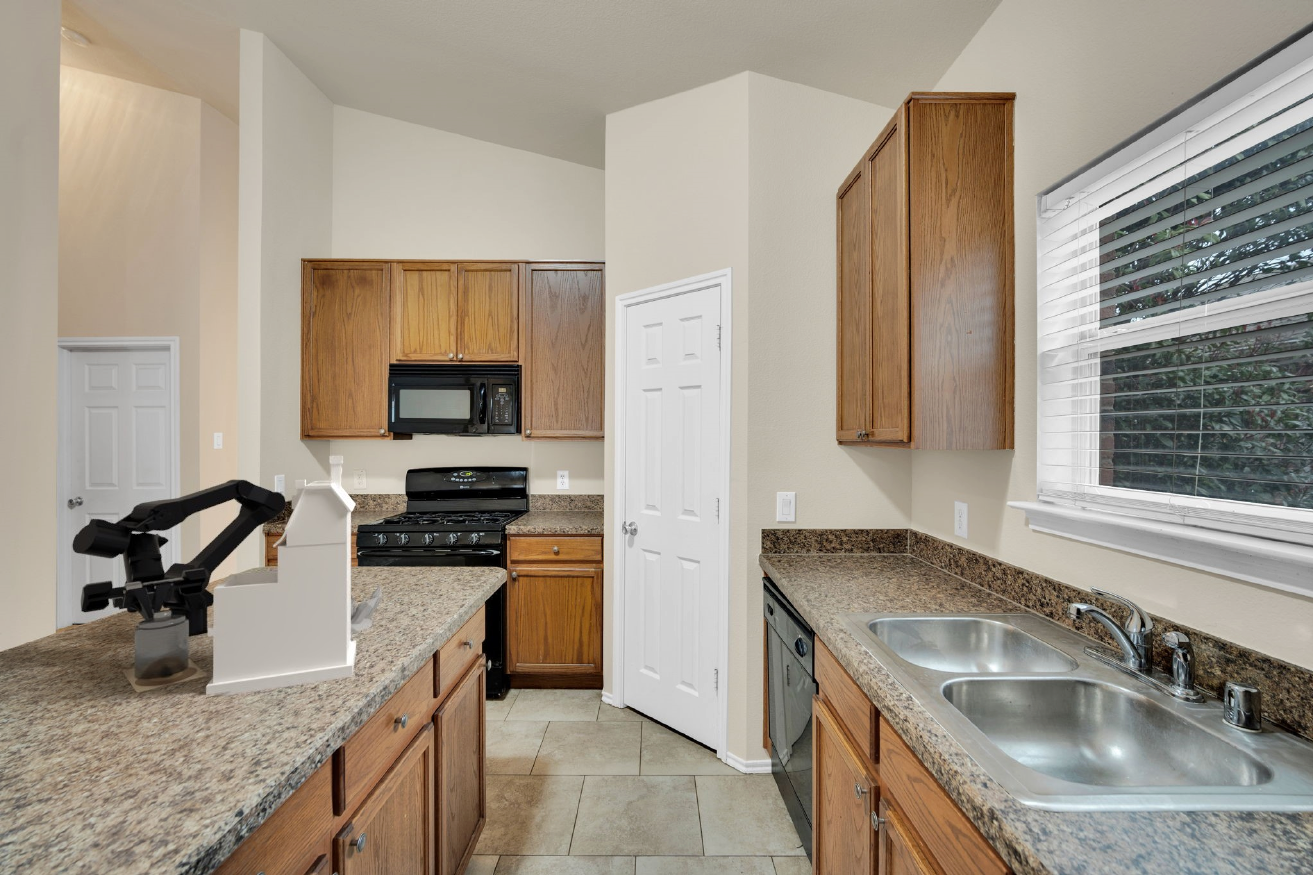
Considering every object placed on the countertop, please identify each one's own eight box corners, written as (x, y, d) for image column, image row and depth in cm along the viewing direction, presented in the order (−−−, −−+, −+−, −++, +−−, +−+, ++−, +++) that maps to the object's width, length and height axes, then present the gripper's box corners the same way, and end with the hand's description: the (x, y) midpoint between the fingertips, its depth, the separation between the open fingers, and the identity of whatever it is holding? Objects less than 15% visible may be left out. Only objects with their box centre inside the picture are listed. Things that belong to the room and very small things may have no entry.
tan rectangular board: (187, 659, 115) (187, 656, 115) (206, 678, 106) (206, 674, 106) (122, 674, 108) (122, 670, 108) (137, 696, 99) (137, 692, 99)
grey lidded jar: (183, 660, 113) (183, 603, 113) (193, 669, 108) (193, 610, 108) (130, 671, 107) (131, 612, 108) (138, 682, 103) (139, 620, 103)
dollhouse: (356, 649, 121) (356, 454, 121) (352, 676, 107) (352, 456, 107) (228, 666, 112) (229, 455, 112) (206, 698, 98) (206, 457, 98)
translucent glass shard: (387, 626, 136) (387, 561, 136) (322, 637, 128) (322, 568, 128) (377, 616, 144) (377, 554, 144) (315, 626, 136) (315, 561, 136)
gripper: (192, 575, 130) (206, 636, 123) (75, 592, 116) (82, 661, 109) (202, 544, 125) (216, 605, 118) (80, 557, 111) (88, 628, 104)
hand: (154, 625), depth 112 cm, fingers closed
